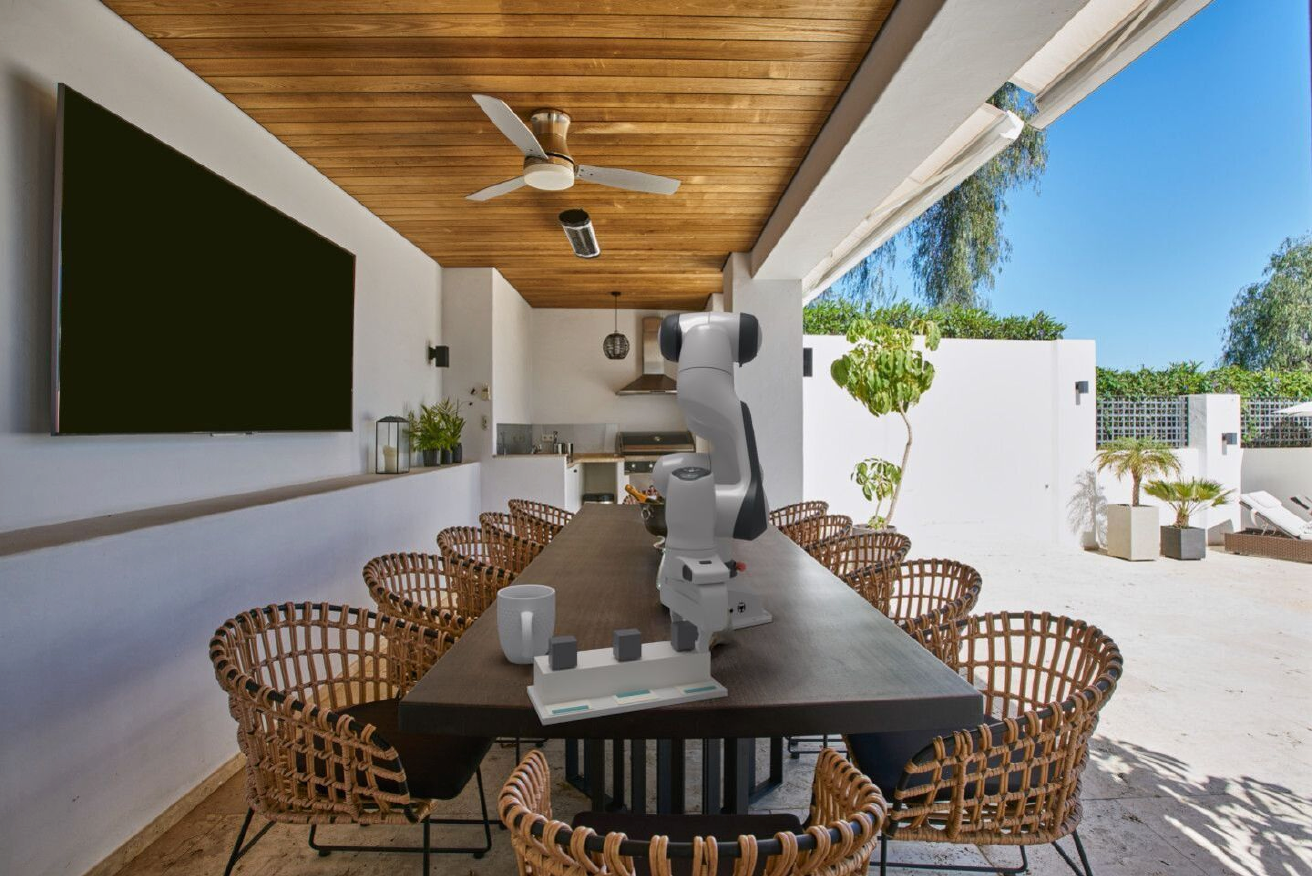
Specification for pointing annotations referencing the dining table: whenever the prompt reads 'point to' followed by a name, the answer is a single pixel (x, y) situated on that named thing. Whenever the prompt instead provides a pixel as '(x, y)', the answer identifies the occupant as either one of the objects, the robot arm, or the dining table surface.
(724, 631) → the ceramic sculpture
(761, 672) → the dining table surface
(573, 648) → the slider
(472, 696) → the dining table surface
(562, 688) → the switch unit
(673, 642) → the slider
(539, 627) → the mug
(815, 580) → the dining table surface
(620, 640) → the slider middle
